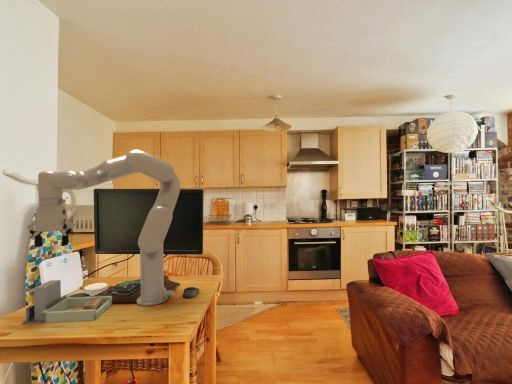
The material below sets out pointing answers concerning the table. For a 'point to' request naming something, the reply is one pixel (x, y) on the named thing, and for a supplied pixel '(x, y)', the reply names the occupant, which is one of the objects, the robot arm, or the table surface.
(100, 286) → the white fluted dish
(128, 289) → the disk drive
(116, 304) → the table surface
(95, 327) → the table surface
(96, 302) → the offcut upper
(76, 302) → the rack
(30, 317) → the stand
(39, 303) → the sheet
